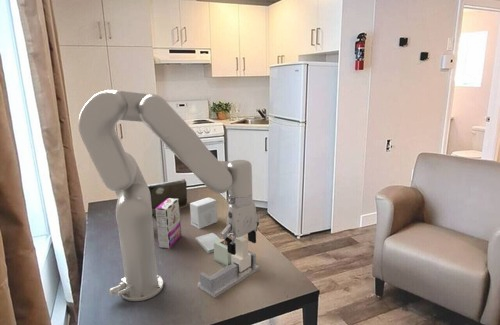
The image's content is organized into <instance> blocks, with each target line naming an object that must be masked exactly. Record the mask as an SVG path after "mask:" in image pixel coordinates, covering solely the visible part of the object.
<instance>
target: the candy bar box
mask: <svg viewBox="0 0 500 325" xmlns="http://www.w3.org/2000/svg"><path fill="white" fill-rule="evenodd" d="M155 212H156V216H155V220H156V228H157V229H156V230H157V239H158V248H160V249H161V248H162V249H171V248H172V247H173V246H174V245H175V244H176V242H177V241H178V240H179V239H180V238H181V237H182V227H181V215H180V209H179V199H174V198H167V199H166V200H165V201H164V202H163V203H162V204H160V205H159V206H158V207H157V208H155Z"/></svg>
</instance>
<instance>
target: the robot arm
mask: <svg viewBox="0 0 500 325" xmlns="http://www.w3.org/2000/svg"><path fill="white" fill-rule="evenodd" d="M119 121H129V122H139V123H140V122H142V123H143V124H144V125H145V126H146V127H147V128H148V129H149V130H150V131H151V132H152V133H153V134H154V135H155V136H156V137H157V138H159V140H160V141H161V142H162V143H164V145H165V146H166V147H167V148H168V149H169V150H170V151H171V152H172V153H173V154H174V155H175V156H176V157H177V158H178V160H180V162H182V163H183V164H184V165H185V166H186V167H187V168H188V169H189V170H190V171H191V172H192V173H193V174H194V176H196V178H198V179H199V181H200V182H201V183H202V184H204V186H206V188H208V190H210V191H211V192H213V193H216V194H224V193H225V192H228V200H227V201H226V202H227V204H228V205H227V211H226V226H225V228H224V229H223V230H222V231H221V232H220V236H221V239H222V238H223V240H225V241H226V242H227V250H228V252H229V253H231V254H233V255H235V254H236V244H235V243H234V241H235V239H236V237H241V236H242V237H244V236H245V235H247V239H248V242H251V243H252V244H256V243H257V232H258V228H259V225H260V219H261V216H260V215H257V207H256V204H255V200H253V166H252V163H251V162H250V161H249V160H246V159H236V160H232V161H230V160H229V161H223V160H218V158H217V157H216V155H214V154H213V153H212V152H211V150H209V148H208V147H207V146H206V145H205V144H204V142H203V141H202V140H201V137H199V135H198V134H197V133H196V131H195V130H193V129H192V127H191V126H189V124H188V123H187V122H186V121H185V120H184V119H183V118H182V117H181V116H180V115H179V114H178V112H176V110H175V109H174V108H172V106H171V105H170V103H168V102H167V101H166V100H165V99H164V98H163V97H162V96H161V95H158V94H153V93H145V92H144V93H143V92H142V93H141V92H133V91H123V90H115V89H107V90H103V91H99V92H97V93H95V94H94V95H93V96H92V97H90V99H88V101H87V102H86V103H85V104H84V106H83V107H82V109H81V111H80V113H79V116H78V132H79V135H80V137H81V140H82V142H83V144H84V146H85V148H86V150H87V152H88V154H89V157H90V159H91V161H92V163H93V166H94V167H95V169H96V171H97V173H98V175H99V178H100V179H101V182H102V183H103V185H104V186H105V187H106V188H107V189H109V190H110V191H113V192H114V193H115V194H116V196H117V200H116V205H115V219H116V226H117V229H118V230H117V231H118V235H119V236H118V237H119V243H120V245H119V246H120V252H121V253H120V254H121V258H122V259H121V260H122V261H121V262H122V268H123V274H124V275H123V276H124V277H123V278H121V282H120V283H118V285H116V286H114V287H111V288H109V289H108V293H109V295H110V296H111V297H112V296H114V295H116V294H117V297H119V298H120V297H122V298H123V299H125V300H127V301H130V302H140V301H145V300H149V299H152V298H153V297H155V296H156V295H158V294H159V293H160V292H161V291H162V289H163V288H164V280H163V278H162V276H160V275H158V268H157V265H158V264H157V256H156V254H157V253H156V244H155V243H156V242H155V233H154V221H153V216H152V205H151V194H150V191H149V188H148V186H147V185H148V183H147V182H146V180H145V178H144V175H143V173H142V170H141V168H140V167H139V165H138V163H137V161H136V159H135V157H133V155H131V154H130V153H129V152H126V151H125V149H124V147H123V145H122V142H121V140H120V137H119V136H118V134H117V132H116V129H115V128H116V124H117V123H118V122H119ZM230 237H232V239H230Z"/></svg>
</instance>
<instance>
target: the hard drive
mask: <svg viewBox="0 0 500 325" xmlns="http://www.w3.org/2000/svg"><path fill="white" fill-rule="evenodd" d="M220 239H221V238H220V237H219V236H218V235H217V234H215V233H214V232H211V233H206V234H203V235H200V236H196V237H195V241H196V242H197V243H198V244H199V245H200V246H201V247H202V248H203V249H204V250H205V252H206V253H207V254H211V253H214V242H216V241H218V240H220Z"/></svg>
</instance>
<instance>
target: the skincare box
mask: <svg viewBox="0 0 500 325" xmlns="http://www.w3.org/2000/svg"><path fill="white" fill-rule="evenodd" d="M217 201H218V200H217V199H215V198H212V197H209V196H208V197H205V198H202V199H198V200H196V201H193V202H190V203H189V208H190V209H189V212H190V225H191V226H193V227H195V228H197V229H199V230H200V229H203V228H205V227H208V226H211V225H213V224H216V223H218V221H219V220H218V204H217V203H218V202H217Z"/></svg>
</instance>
